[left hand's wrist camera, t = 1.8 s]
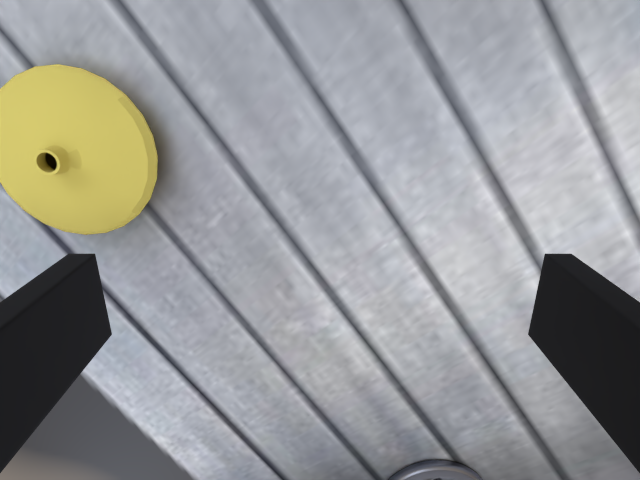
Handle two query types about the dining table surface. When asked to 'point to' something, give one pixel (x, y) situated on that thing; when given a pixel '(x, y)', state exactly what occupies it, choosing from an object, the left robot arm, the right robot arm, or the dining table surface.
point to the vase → (74, 150)
